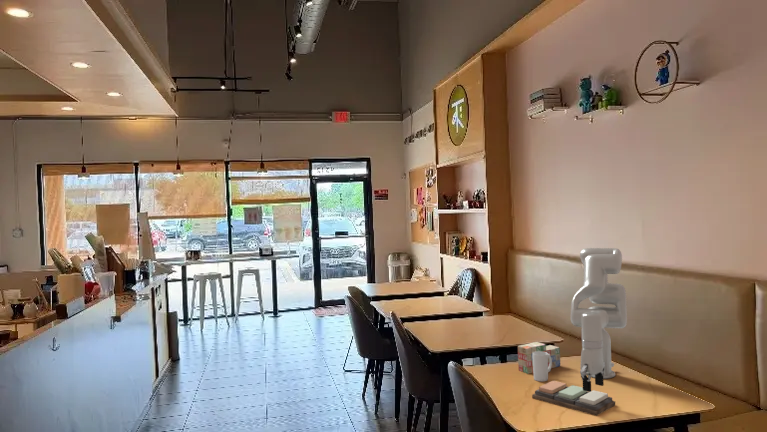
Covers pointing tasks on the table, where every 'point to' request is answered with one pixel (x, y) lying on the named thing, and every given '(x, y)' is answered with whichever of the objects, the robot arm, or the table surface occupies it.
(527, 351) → the stack of blocks
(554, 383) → the terracotta tile
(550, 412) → the table surface
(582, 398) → the cream tile
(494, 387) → the table surface
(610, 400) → the dark grey tile board
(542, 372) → the mug
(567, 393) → the sage tile
